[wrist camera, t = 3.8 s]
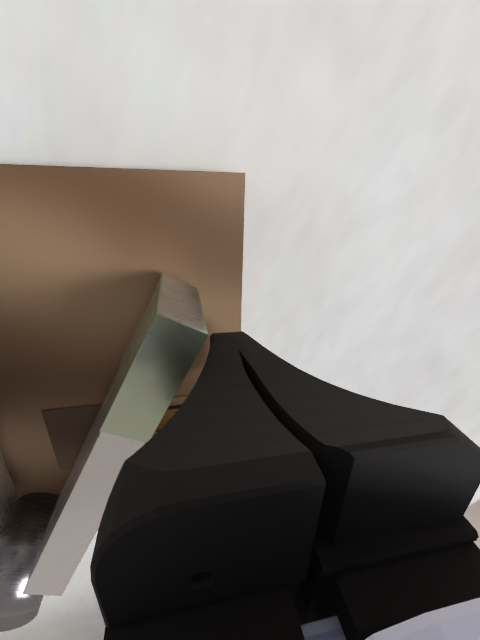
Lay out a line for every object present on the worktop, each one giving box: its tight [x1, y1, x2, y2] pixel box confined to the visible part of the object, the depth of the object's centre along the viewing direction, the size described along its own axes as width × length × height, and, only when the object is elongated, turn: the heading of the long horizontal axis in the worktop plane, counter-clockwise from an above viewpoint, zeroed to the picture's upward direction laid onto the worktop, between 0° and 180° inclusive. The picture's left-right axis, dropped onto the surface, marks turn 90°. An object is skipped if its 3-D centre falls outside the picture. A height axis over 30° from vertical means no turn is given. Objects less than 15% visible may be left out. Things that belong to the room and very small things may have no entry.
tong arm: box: [22, 272, 208, 596], centre depth 10 cm, size 11×1×4 cm, turn 151°
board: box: [0, 164, 245, 529], centre depth 12 cm, size 16×12×1 cm
